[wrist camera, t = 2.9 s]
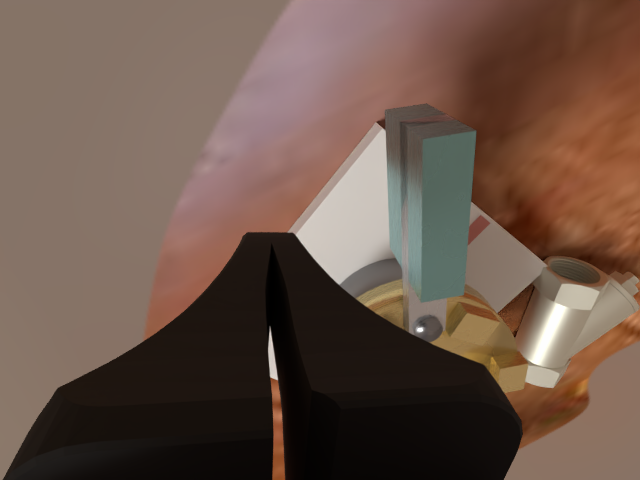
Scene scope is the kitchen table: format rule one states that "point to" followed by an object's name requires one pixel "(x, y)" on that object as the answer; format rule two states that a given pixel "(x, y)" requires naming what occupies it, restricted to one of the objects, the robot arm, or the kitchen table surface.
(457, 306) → the gold gear
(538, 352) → the pipe fitting
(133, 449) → the robot arm
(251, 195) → the kitchen table surface
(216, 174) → the kitchen table surface
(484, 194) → the kitchen table surface
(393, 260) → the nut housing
